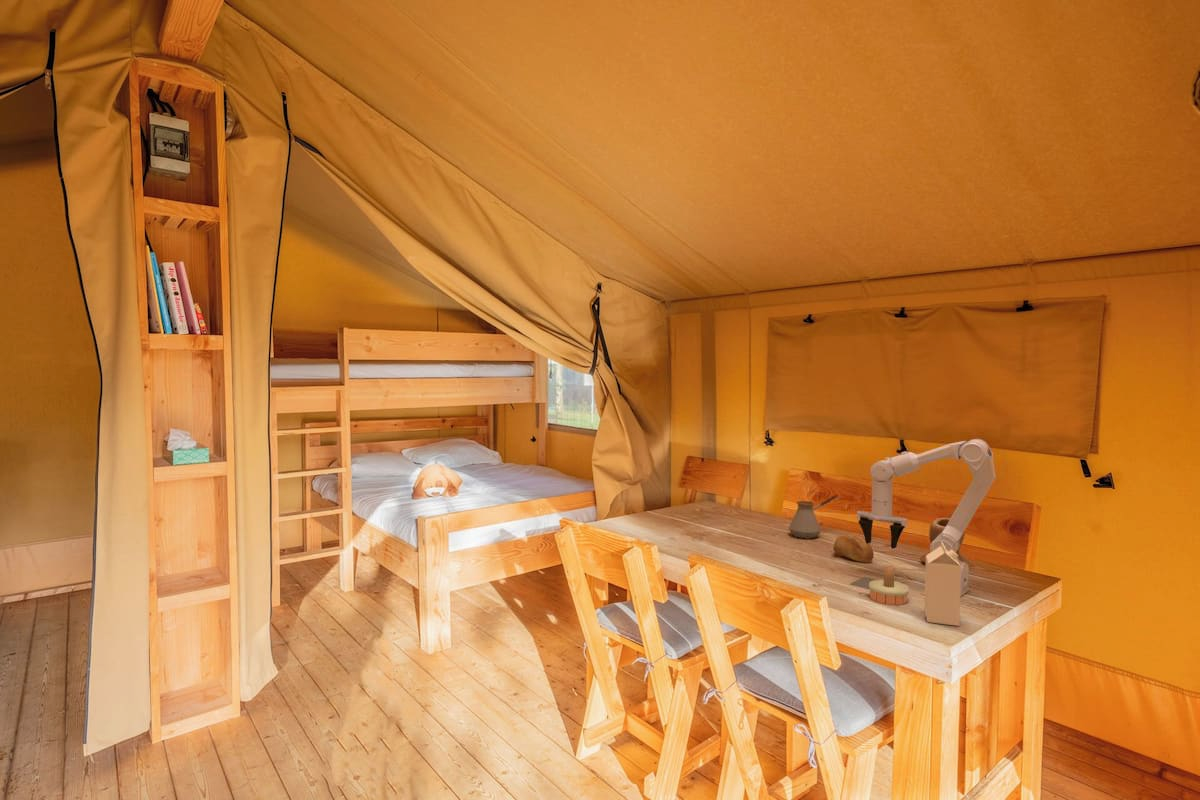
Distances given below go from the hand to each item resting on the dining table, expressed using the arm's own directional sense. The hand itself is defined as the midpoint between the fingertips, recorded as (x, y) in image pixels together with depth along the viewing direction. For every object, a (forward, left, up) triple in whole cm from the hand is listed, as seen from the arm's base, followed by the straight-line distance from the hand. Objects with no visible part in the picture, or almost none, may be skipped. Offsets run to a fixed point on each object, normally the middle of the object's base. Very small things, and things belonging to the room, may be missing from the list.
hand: (880, 545), depth 198 cm
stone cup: (-9, -29, -10) cm, 32 cm away
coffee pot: (+39, -33, -10) cm, 52 cm away
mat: (-2, +9, -10) cm, 14 cm away
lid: (-10, +18, -7) cm, 22 cm away
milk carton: (-25, +22, -10) cm, 35 cm away
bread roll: (+15, -13, -10) cm, 22 cm away
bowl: (-10, +18, -10) cm, 23 cm away
